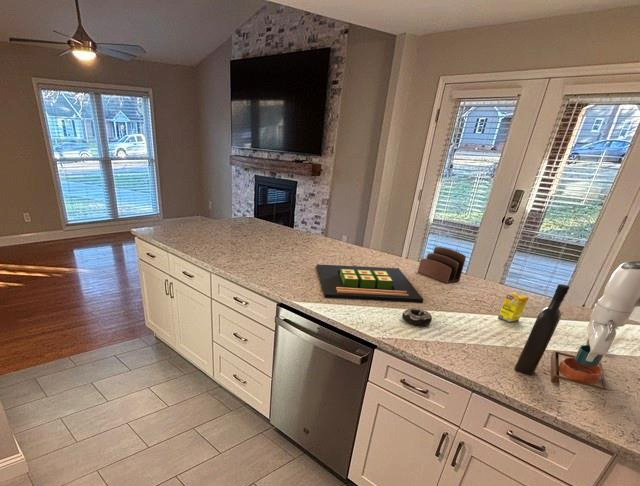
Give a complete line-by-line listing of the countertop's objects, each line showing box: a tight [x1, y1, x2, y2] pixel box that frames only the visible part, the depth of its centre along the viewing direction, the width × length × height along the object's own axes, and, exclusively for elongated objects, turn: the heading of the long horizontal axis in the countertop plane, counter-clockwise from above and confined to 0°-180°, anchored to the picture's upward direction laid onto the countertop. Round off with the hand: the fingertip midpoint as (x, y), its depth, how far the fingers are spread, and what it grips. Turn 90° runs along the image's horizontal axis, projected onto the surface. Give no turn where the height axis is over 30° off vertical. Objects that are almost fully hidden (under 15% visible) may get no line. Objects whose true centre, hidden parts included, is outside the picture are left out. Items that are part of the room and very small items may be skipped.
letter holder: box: [417, 246, 467, 284], centre depth 218 cm, size 10×20×14 cm, turn 30°
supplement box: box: [497, 291, 530, 324], centre depth 174 cm, size 6×6×11 cm
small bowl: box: [574, 344, 605, 367], centre depth 133 cm, size 7×7×4 cm
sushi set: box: [316, 263, 424, 304], centre depth 207 cm, size 45×45×4 cm
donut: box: [401, 307, 433, 327], centre depth 171 cm, size 12×12×4 cm
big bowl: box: [557, 356, 604, 384], centre depth 136 cm, size 11×11×5 cm
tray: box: [550, 350, 607, 391], centre depth 139 cm, size 14×20×2 cm
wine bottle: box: [514, 283, 570, 376], centre depth 133 cm, size 6×6×30 cm
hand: (587, 355), depth 133 cm, fingers closed on small bowl, 6 cm apart
